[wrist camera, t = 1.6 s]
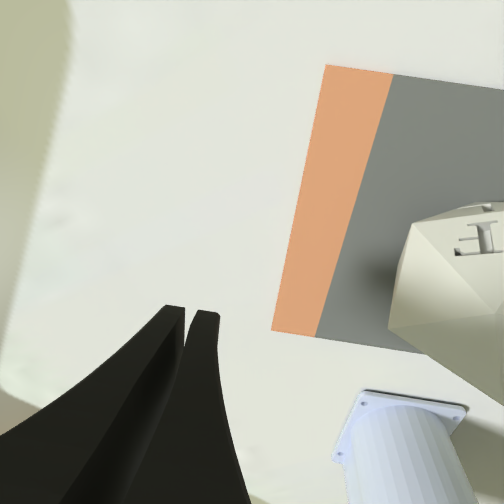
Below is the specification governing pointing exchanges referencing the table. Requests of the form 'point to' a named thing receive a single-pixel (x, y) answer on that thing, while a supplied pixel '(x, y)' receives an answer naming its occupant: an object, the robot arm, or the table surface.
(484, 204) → the die
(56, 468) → the robot arm
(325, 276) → the mat
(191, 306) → the table surface
